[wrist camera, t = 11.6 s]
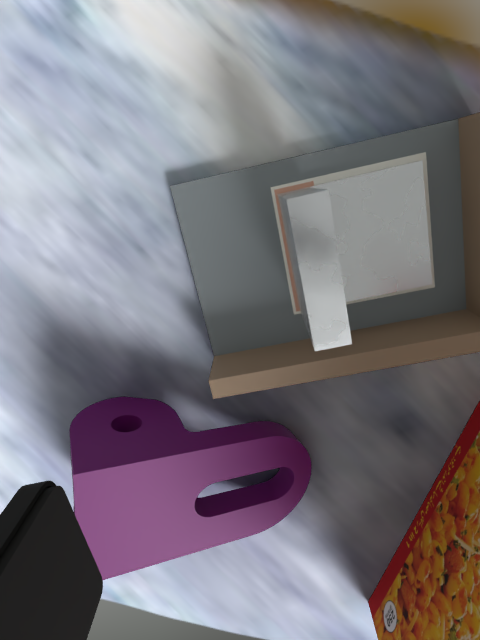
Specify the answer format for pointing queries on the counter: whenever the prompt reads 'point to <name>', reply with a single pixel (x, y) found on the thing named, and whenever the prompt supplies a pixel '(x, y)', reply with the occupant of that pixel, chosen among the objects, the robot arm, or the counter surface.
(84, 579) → the robot arm
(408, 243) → the bracket
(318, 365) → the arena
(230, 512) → the mounting bracket
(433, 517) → the pasta box
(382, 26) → the counter surface
